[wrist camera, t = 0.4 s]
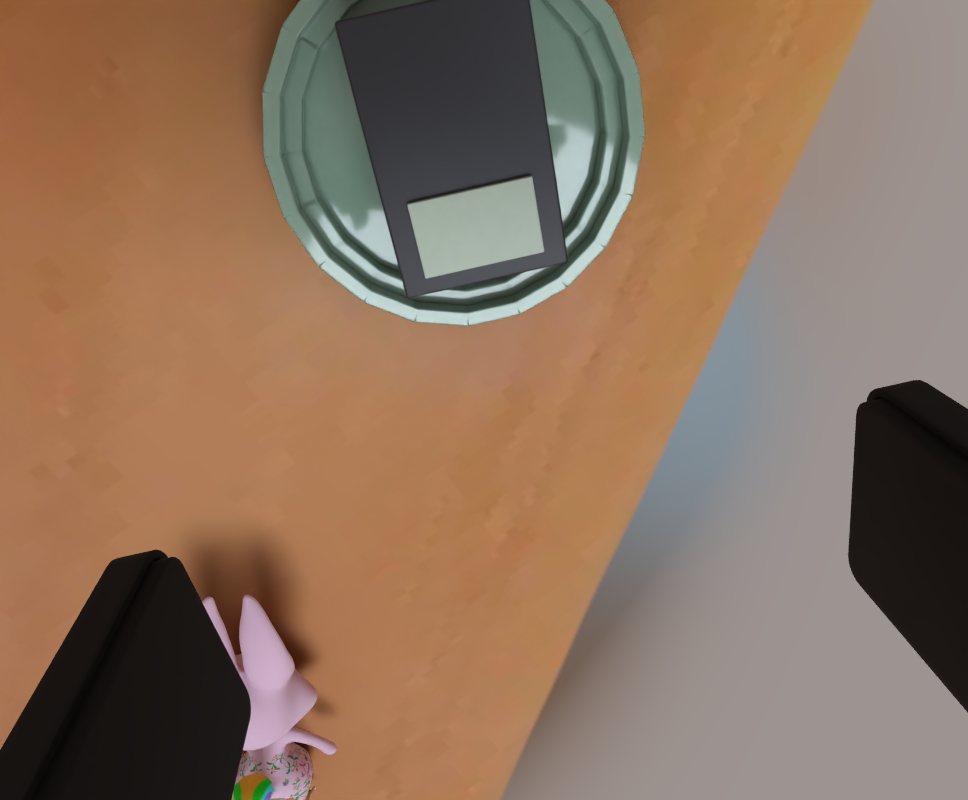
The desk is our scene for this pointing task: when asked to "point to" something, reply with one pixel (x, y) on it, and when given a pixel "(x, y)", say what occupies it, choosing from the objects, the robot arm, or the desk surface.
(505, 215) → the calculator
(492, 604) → the desk surface
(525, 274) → the plant saucer
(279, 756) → the rabbit figure
